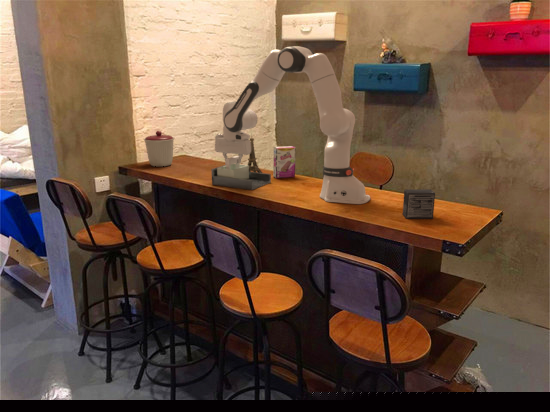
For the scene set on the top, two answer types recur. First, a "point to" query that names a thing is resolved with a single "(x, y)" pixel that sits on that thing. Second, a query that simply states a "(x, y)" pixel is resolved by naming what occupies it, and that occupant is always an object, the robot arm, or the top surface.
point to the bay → (241, 180)
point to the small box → (418, 203)
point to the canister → (159, 149)
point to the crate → (233, 169)
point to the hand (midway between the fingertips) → (232, 162)
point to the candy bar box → (284, 162)
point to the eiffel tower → (253, 159)
